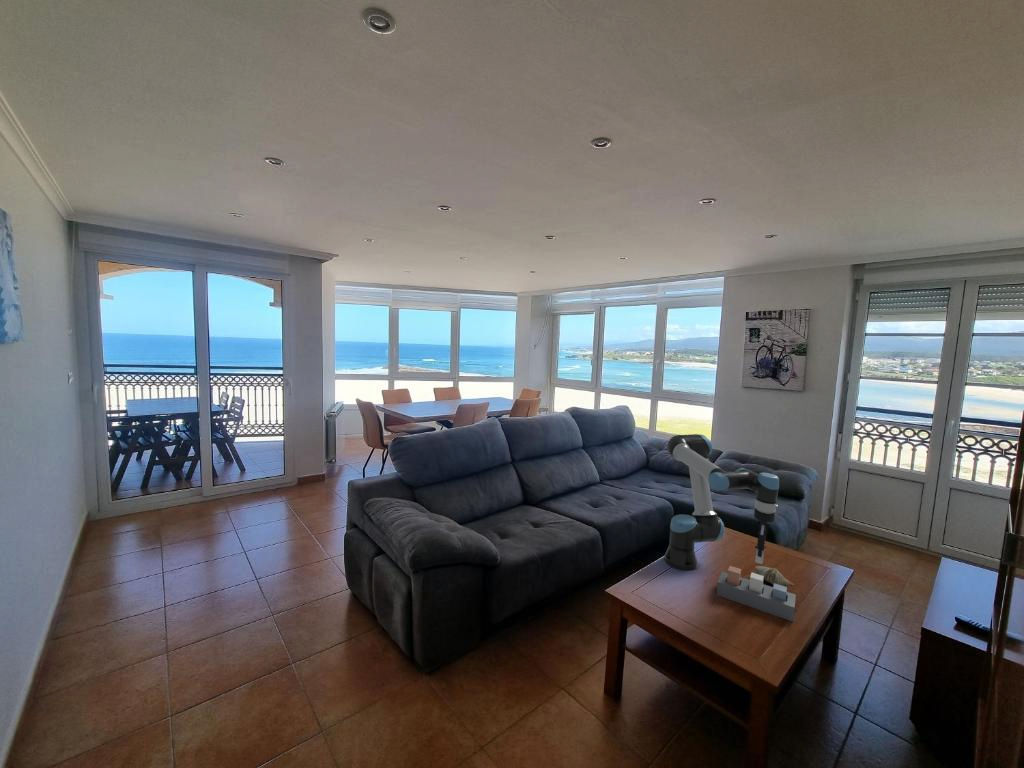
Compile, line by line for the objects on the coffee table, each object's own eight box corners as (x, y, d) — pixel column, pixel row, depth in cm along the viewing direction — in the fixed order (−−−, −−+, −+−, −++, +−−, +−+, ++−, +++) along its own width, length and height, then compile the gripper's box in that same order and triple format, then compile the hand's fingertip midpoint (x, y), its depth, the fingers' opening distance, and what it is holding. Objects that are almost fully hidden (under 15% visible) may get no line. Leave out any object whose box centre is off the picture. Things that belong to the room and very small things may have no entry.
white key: (748, 592, 176) (750, 577, 175) (750, 587, 180) (751, 572, 179) (761, 596, 173) (762, 580, 172) (762, 591, 177) (763, 576, 176)
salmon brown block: (726, 585, 181) (728, 570, 180) (728, 580, 185) (729, 565, 184) (738, 589, 178) (739, 573, 178) (740, 584, 182) (741, 569, 181)
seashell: (796, 578, 186) (781, 562, 185) (791, 596, 181) (776, 580, 181) (767, 576, 198) (753, 561, 198) (762, 593, 193) (747, 578, 193)
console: (716, 594, 181) (717, 582, 180) (721, 583, 189) (722, 571, 189) (793, 621, 164) (794, 607, 164) (794, 607, 173) (795, 594, 172)
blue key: (771, 604, 171) (773, 588, 170) (772, 598, 175) (774, 583, 174) (784, 608, 168) (786, 592, 168) (785, 603, 172) (787, 587, 171)
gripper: (774, 518, 165) (768, 572, 168) (776, 507, 176) (769, 558, 179) (753, 513, 169) (747, 566, 172) (756, 502, 180) (750, 552, 183)
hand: (758, 562), depth 176 cm, fingers closed
